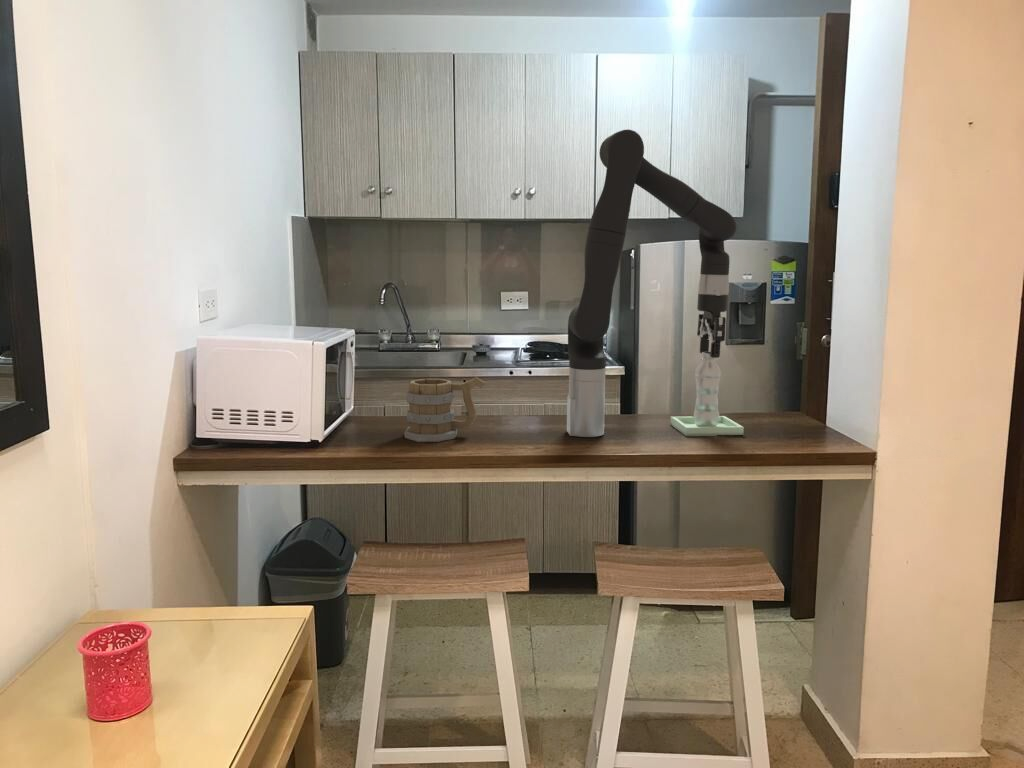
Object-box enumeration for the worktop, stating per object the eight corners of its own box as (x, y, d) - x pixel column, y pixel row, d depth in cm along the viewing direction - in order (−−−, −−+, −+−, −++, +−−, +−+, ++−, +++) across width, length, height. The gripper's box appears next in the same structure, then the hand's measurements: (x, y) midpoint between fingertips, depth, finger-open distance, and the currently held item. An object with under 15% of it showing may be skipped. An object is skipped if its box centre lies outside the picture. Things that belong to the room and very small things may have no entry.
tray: (685, 436, 187) (686, 427, 187) (670, 424, 201) (670, 416, 201) (743, 435, 188) (743, 427, 188) (724, 423, 202) (724, 416, 202)
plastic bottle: (722, 430, 191) (726, 354, 188) (696, 430, 191) (699, 353, 188) (715, 425, 198) (718, 351, 194) (690, 425, 198) (693, 351, 194)
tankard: (402, 442, 180) (401, 381, 177) (409, 430, 192) (408, 373, 190) (483, 442, 180) (483, 381, 177) (486, 431, 192) (486, 374, 190)
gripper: (690, 291, 196) (686, 352, 198) (708, 293, 182) (704, 358, 184) (717, 292, 196) (714, 352, 199) (737, 294, 182) (733, 359, 185)
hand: (709, 355), depth 192 cm, fingers open, 8 cm apart
